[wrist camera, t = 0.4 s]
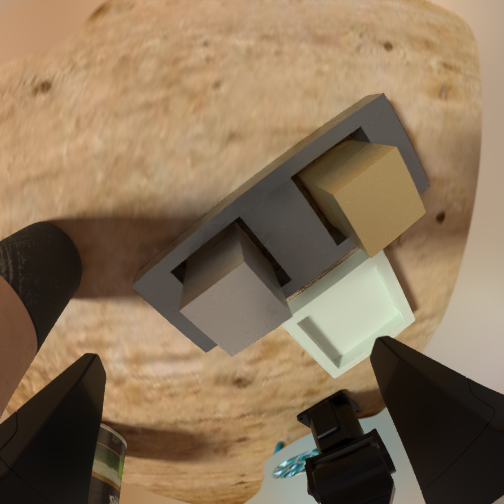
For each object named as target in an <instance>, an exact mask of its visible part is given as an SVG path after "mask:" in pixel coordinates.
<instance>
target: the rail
mask: <svg viewBox="0 0 504 504" xmlns="http://www.w3.org/2000/svg"><path fill="white" fill-rule="evenodd" d="M349 134H351V135H352V136H353V138H354V140H355V141H360V142H368V143H375V144H382V145H389V146H395V147H397V149H398V151H399V153H400V155H401V157H402V159H403V161H404V163H405V165H406V167H407V169H408V171H409V173H410V175H411V178H412V180H413V182H414V184H415V187H416V189H417V191H418V193H419V195H420V194H421V193H422V192H423V191H425V190H426V189H427V188H428V187H429V183H428V181H427V178H426V176H425V174H424V171H423V169H422V167H421V164H420V162H419V160H418V158H417V155H416V153H415V151H414V149H413V147H412V145H411V143H410V141H409V139H408V137H407V135H406V133H405V131H404V129H403V127H402V125H401V123H400V121H399V119H398V118H397V116H396V114H395V112H394V110H393V108H392V107H391V105H390V103H389V101H388V100H387V98H386V96H385V95H384V93H381V94H375V95H368V96H366V97H364V98H363V99H361V100H360V101H358V102H357V103H355V104H354V105H352V106H351V107H349V108H348V109H346V110H345V111H343V112H342V113H340V114H339V115H337V116H336V117H335V118H333V119H332V120H330V121H329V122H327V123H326V124H324V125H323V126H321V127H320V128H319V129H317V130H316V131H314V132H313V133H312V134H310V135H309V136H307V137H306V138H304V139H303V140H302V141H300V142H299V143H298V144H296V145H295V146H293V147H292V148H291V149H289V150H288V151H287V152H285V153H284V154H282V155H281V156H280V157H278V158H277V159H276V160H274V161H273V162H272V163H270V164H269V165H268V166H266V167H265V168H264V169H262V170H261V171H260V172H258V173H257V174H256V175H254V176H253V177H252V178H251V179H249V180H248V181H247V182H245V183H244V184H243V185H241V186H240V187H239V188H238V189H236V190H235V191H234V192H232V193H231V194H230V195H229V196H227V197H226V198H225V199H224V200H222V201H221V202H220V203H219V204H217V205H216V206H215V207H214V208H212V209H211V210H210V211H209V212H207V213H206V214H205V215H204V216H203V217H201V218H200V219H199V220H198V221H196V222H195V223H194V224H193V225H192V226H190V227H189V228H188V229H187V230H186V231H184V232H183V233H182V234H181V235H180V236H178V237H177V238H176V239H175V240H174V241H173V242H171V243H170V244H169V245H168V246H167V247H166V248H164V249H163V250H162V251H161V252H160V253H159V254H157V255H156V256H155V257H154V258H153V259H152V260H151V261H149V262H148V263H147V264H146V265H145V266H144V267H143V268H142V269H140V270H139V271H138V273H137V275H136V277H135V279H134V282H133V284H132V286H131V287H132V288H133V289H134V290H135V291H136V292H137V293H138V294H140V295H141V296H142V297H143V298H144V299H145V300H146V301H147V302H148V303H149V304H150V305H151V306H152V307H153V308H155V309H156V310H157V311H158V312H159V313H160V314H161V315H162V316H163V317H165V318H166V319H167V320H168V321H169V322H170V323H171V324H172V325H174V326H175V327H176V328H177V329H178V330H179V331H181V332H182V333H183V334H184V335H185V336H186V337H188V338H189V339H190V340H191V341H192V342H194V343H195V344H196V345H197V346H198V347H200V348H201V349H202V350H203V351H205V352H208V351H210V350H211V349H213V348H214V347H216V346H217V344H216V343H215V342H214V341H213V340H211V339H210V338H209V337H208V336H207V335H206V334H204V333H203V332H202V331H201V330H200V329H199V328H198V327H196V326H195V325H194V324H193V323H192V322H191V321H190V320H189V319H188V318H186V317H185V316H184V315H183V314H182V313H181V312H180V311H179V309H180V302H181V296H182V290H183V284H184V278H185V272H186V269H185V268H184V267H183V266H182V265H181V264H180V263H181V262H183V261H184V260H185V259H186V258H188V257H189V256H190V255H191V254H192V253H194V252H195V251H196V250H197V249H199V248H200V247H201V246H202V245H204V244H205V243H206V242H207V241H209V240H210V239H211V238H212V237H214V236H215V235H216V234H217V233H219V232H220V231H221V230H223V229H224V228H225V227H226V226H228V225H229V224H230V223H231V222H233V221H234V220H235V219H237V218H238V217H239V216H240V217H241V219H242V220H243V221H244V222H245V223H246V225H247V226H248V227H249V228H250V229H251V231H252V232H253V233H254V234H255V235H256V237H257V238H258V239H259V240H260V242H261V243H262V244H263V245H264V246H265V248H266V249H267V250H268V251H269V252H270V254H271V255H272V256H273V257H274V259H275V260H276V261H277V262H278V263H279V265H280V266H281V267H282V268H280V269H279V270H278V271H276V272H275V274H276V277H277V279H278V281H279V284H280V286H281V289H282V291H283V293H284V296H285V298H288V297H289V296H290V295H292V294H293V293H295V292H296V291H297V290H299V289H300V288H302V287H303V286H304V285H306V284H307V283H308V282H310V281H311V280H313V279H314V278H315V277H317V276H318V275H319V274H321V273H322V272H323V271H325V270H326V269H327V268H329V267H330V266H331V265H333V264H334V263H335V262H337V261H338V260H339V259H341V258H342V257H343V256H344V255H346V254H347V253H348V252H350V251H351V250H352V249H354V248H355V247H356V245H355V244H354V243H353V242H352V241H351V240H349V239H348V238H347V237H346V236H345V235H344V234H343V233H341V232H340V231H339V230H338V229H337V228H336V227H335V228H334V229H332V230H331V231H330V232H328V231H327V230H326V228H325V227H324V225H323V224H322V222H321V221H320V219H319V218H318V216H317V215H316V213H315V212H314V210H313V209H312V208H311V206H310V205H309V203H308V202H307V200H306V199H305V198H304V196H303V195H302V193H301V192H300V190H299V189H298V188H297V186H296V185H295V183H294V182H293V181H292V179H291V178H290V177H292V176H293V175H294V174H296V173H297V172H298V171H300V170H301V169H302V168H304V167H305V166H306V165H308V164H309V163H310V162H312V161H313V160H314V159H316V158H317V157H319V156H320V155H321V154H323V153H324V152H325V151H327V150H328V149H330V148H331V147H332V146H334V145H335V144H337V143H338V142H339V141H341V140H342V139H344V138H345V137H346V136H348V135H349Z"/></svg>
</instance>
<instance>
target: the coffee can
mask: <svg viewBox="0 0 504 504" xmlns="http://www.w3.org/2000/svg"><path fill="white" fill-rule="evenodd" d="M126 449H127V443H126V441H125V439H124V438H123V437H122V436H121V435H120V434H119V433H118V432H116V431H115V430H114V429H112V428H111V427H109V426H107V425H105V424H103V423H101V425H100V430H99V435H98V440H97V445H96V451H95V457H94V463H93V470H92V476H91V484H90V492H89V500H88V504H119V498H120V489H121V480H122V473H123V466H124V459H125V453H126Z"/></svg>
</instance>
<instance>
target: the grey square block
mask: <svg viewBox="0 0 504 504" xmlns="http://www.w3.org/2000/svg"><path fill="white" fill-rule="evenodd" d="M179 311H180V312H181V313H182V314H183V315H184V316H185V317H186V318H188V319H189V320H190V321H191V322H192V323H193V324H194V325H195V326H196V327H198V328H199V329H200V330H201V331H202V332H203V333H204V334H206V335H207V336H208V337H209V338H210V339H211V340H213V341H214V342H215V343H216V344H217V345H219V346H220V347H221V348H222V349H223V350H224V351H226V352H227V353H228V354H229V355H231V356H234V355H235V354H237V353H239V352H240V351H242V350H243V349H245V348H246V347H248V346H250V345H251V344H253V343H254V342H256V341H257V340H259V339H260V338H262V337H263V336H265V335H266V334H268V333H269V332H271V331H272V330H274V329H275V328H277V327H278V326H280V325H281V324H283V323H284V322H286V321H287V320H289V319H290V318H292V317H293V315H292V312H291V310H290V308H289V305H288V303H287V300H286V298H285V296H284V293H283V291H282V289H281V286H280V284H279V281H278V279H277V277H276V274H275V272H274V269H273V267H272V265H271V263H270V262H269V261H268V260H267V259H266V257H265V256H264V255H263V254H262V253H261V251H260V250H259V249H258V248H257V247H256V245H255V244H254V243H253V242H252V241H251V240H250V238H249V237H248V236H247V235H246V234H245V232H244V231H243V230H242V229H241V228H240V226H239V225H238V224H237V223H236V222H235V221H234V222H233V223H232V224H230V225H229V226H228V227H227V228H225V229H224V230H223V231H221V232H220V233H219V234H218V235H216V236H215V237H214V238H213V239H211V240H210V241H209V242H208V243H206V244H205V245H204V246H203V247H201V248H200V249H199V250H198V251H196V252H195V253H194V254H193V255H191V256H190V257H189V258H188V261H187V267H186V272H185V278H184V284H183V290H182V296H181V302H180V309H179Z"/></svg>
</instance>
